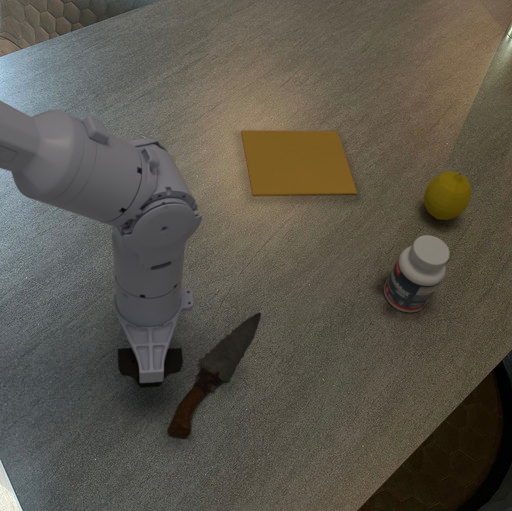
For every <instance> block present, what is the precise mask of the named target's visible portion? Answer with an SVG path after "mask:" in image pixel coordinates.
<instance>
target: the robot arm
mask: <svg viewBox="0 0 512 511" xmlns="http://www.w3.org/2000/svg"><path fill="white" fill-rule="evenodd" d="M0 169H1V170H5V171H9V172H10V173H11V175H12V178H13V182H14V184H15V186H16V188H17V190H18V191H19V192H20V194H22V195H23V196H24V197H26V198H28V199H31V200H34V201H36V202H39V203H40V202H41V203H43V204H46V205H49V206H52V207H54V208H58V209H61V210H63V211H67V212H69V213H73V214H76V215H79V216H82V217H84V218H88V219H91V220H92V221H96V222H99V223H102V224H105V225H108V226H111V227H112V228H111V230H112V232H111V246H112V260H113V261H112V262H113V276H114V290H115V291H114V292H115V293H114V296H113V306H114V312H115V315H116V317H117V320H118V321H119V324H120V326H121V329H122V330H123V332H124V334H125V337H126V339H127V341H128V343H129V346H130V347H124V348H121V347H120V348H117V368H118V371H119V373H120V375H121V376H123V377H128V378H132V379H133V381H134V382H135V383H136V385H137V386H138V387H139V389H143V388H158V387H161V386H162V384H163V383H164V381H165V380H166V378H167V377H168V376H171V375H173V374H177V373H180V372H181V370H182V368H183V364H184V361H183V360H184V358H183V348H182V347H174V348H173V347H172V348H171V347H170V345H171V342H172V339H173V338H174V333H175V331H176V328H177V325H178V322H179V319H180V316H181V314H182V313H183V312H189V311H192V310H193V309H194V303H195V302H194V293H193V290H192V289H191V288H187V287H186V288H185V287H184V288H183V287H182V286H183V275H184V265H185V264H184V263H185V262H184V261H185V250H186V243H187V241H188V240H189V239H190V238H191V237H192V236H193V235H194V234H195V233H196V231H197V230H198V229H199V228H200V225H201V223H202V221H203V215H202V214H200V213H199V210H198V202H197V201H196V199H195V196H194V195H193V193H192V192H191V190H190V187H189V186H188V184H187V182H186V180H185V178H184V176H183V175H182V173H181V171H180V168H179V167H178V166H177V163H176V162H175V159H174V158H173V156H172V155H171V154H170V153H169V151H168V150H167V148H166V147H165V146H164V145H163V144H161V143H160V141H159V140H158V139H155V138H148V137H147V138H145V137H143V138H135V139H130V140H127V139H124V138H121V137H118V136H117V137H116V136H114V135H112V134H111V133H109V132H108V131H107V127H106V126H105V124H104V122H103V121H102V120H100V119H98V118H97V117H94V116H93V115H91V114H90V115H89V114H87V115H86V116H85V117H84V118H83V119H80V118H78V117H77V116H74V115H72V114H70V113H68V112H66V111H64V110H62V109H49V110H45V111H42V112H40V113H37V114H34V115H31V116H30V115H28V114H26V113H25V112H23V111H21V110H18V109H17V108H15V107H14V106H11V105H10V104H8V103H7V102H4V101H2V100H0Z"/></svg>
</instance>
